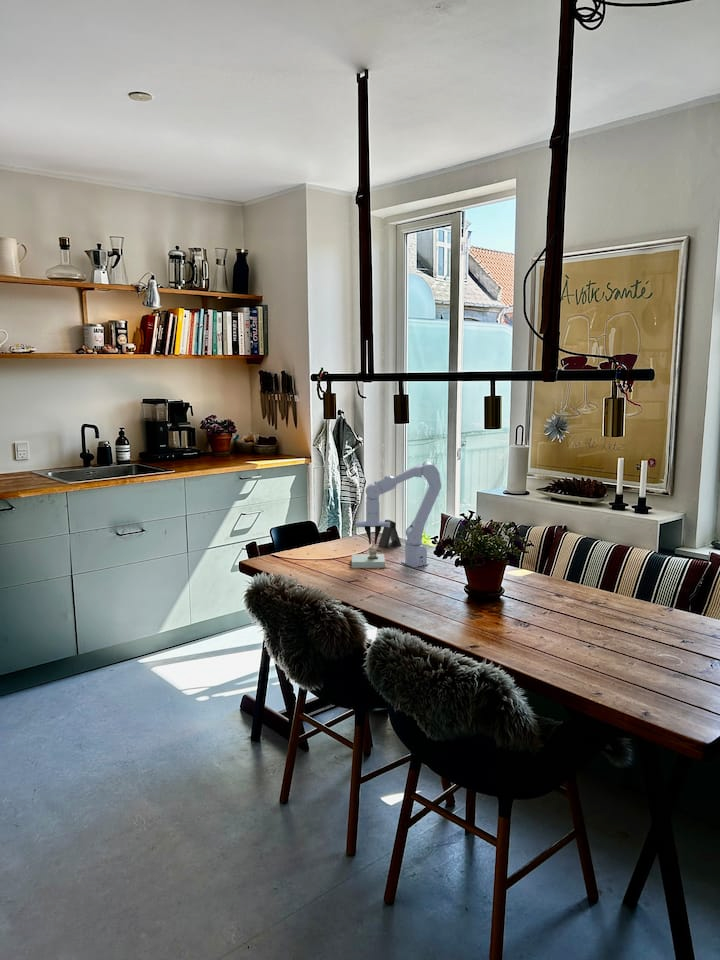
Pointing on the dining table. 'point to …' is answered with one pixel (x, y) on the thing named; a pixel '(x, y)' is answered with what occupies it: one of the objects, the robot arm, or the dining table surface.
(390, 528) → the phone stand
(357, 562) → the hole board
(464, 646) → the dining table surface
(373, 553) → the peg
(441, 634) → the dining table surface
